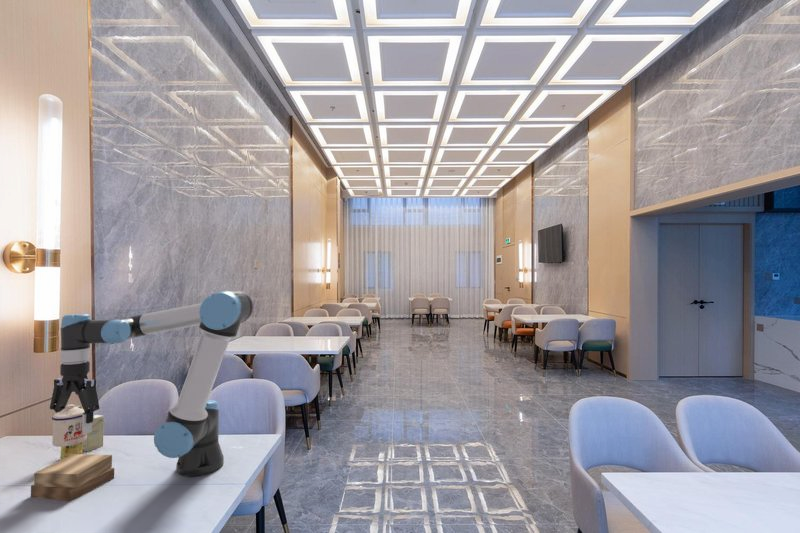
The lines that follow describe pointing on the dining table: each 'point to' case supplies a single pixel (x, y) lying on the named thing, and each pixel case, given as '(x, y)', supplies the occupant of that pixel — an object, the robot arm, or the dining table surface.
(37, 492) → the tower base block
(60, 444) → the teacup with lid
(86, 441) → the skincare box
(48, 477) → the tower top block
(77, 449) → the sauce bottle
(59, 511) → the dining table surface
